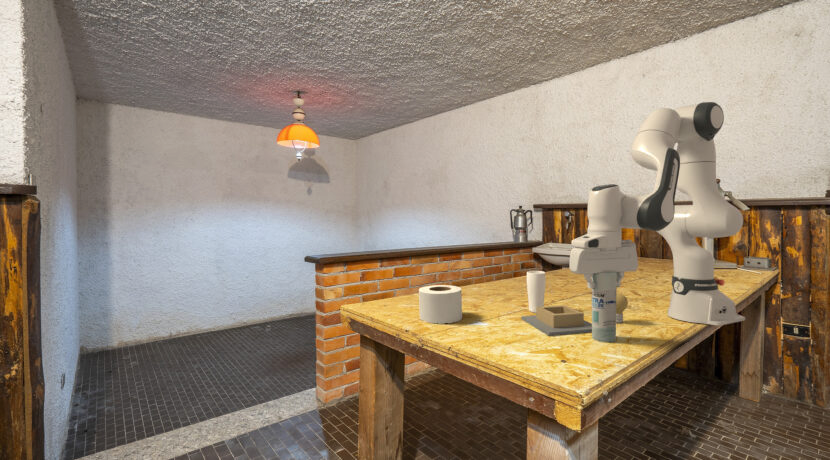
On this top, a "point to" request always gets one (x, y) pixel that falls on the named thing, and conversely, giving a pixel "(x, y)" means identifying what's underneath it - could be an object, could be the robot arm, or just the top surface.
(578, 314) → the socket
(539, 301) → the drinking glass
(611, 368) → the top surface
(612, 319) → the spray paint can
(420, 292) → the toilet paper roll
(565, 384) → the top surface
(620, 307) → the light bulb
